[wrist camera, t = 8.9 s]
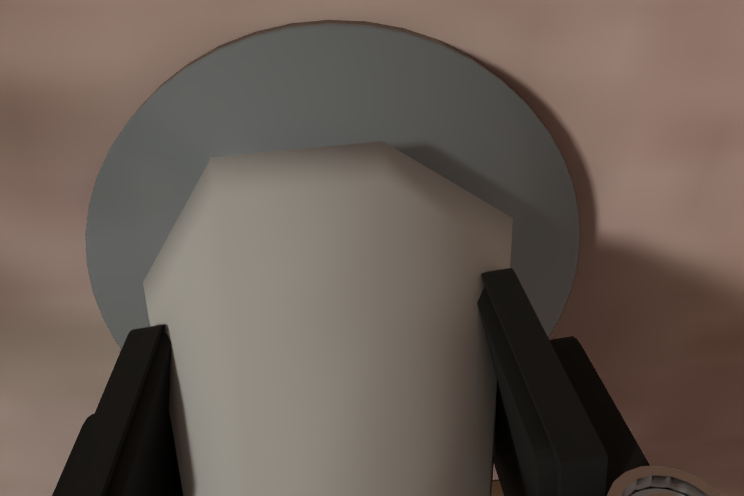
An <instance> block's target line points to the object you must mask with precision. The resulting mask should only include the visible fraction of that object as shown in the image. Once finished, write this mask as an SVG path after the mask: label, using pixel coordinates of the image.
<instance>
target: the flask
mask: <svg viewBox="0 0 744 496" xmlns="http://www.w3.org/2000/svg"><path fill="white" fill-rule="evenodd" d="M512 225H513V218H512V217H510V216H509V215H507V214H505V213H504V212H502V211H500V210H499V209H497V208H495V207H493V206H492V205H490V204H488V203H487V202H485V201H483V200H482V199H480V198H478V197H476V196H475V195H473V194H471V193H470V192H468V191H466V190H465V189H463V188H461V187H460V186H458V185H456V184H454V183H453V182H451V181H449V180H448V179H446V178H444V177H443V176H441V175H439V174H437V173H436V172H434V171H432V170H431V169H429V168H427V167H426V166H424V165H422V164H421V163H419V162H417V161H415V160H414V159H412V158H410V157H409V156H407V155H405V154H404V153H402V152H400V151H398V150H397V149H395V148H393V147H392V146H390V145H388V144H387V143H385V142H383V141H377V142H367V143H356V144H346V145H336V146H325V147H315V148H304V149H294V150H283V151H273V152H262V153H252V154H242V155H231V156H221V157H211V158H210V160H209V162H208V164H207V166H206V168H205V169H204V171H203V173H202V175H201V177H200V179H199V180H198V182H197V184H196V186H195V188H194V190H193V191H192V193H191V195H190V197H189V199H188V201H187V202H186V204H185V206H184V208H183V210H182V212H181V213H180V215H179V217H178V219H177V221H176V223H175V224H174V226H173V228H172V230H171V232H170V234H169V235H168V237H167V239H166V241H165V243H164V245H163V246H162V248H161V250H160V252H159V254H158V256H157V257H156V259H155V261H154V263H153V265H152V267H151V268H150V270H149V272H148V274H147V276H146V278H145V279H144V281H143V286H144V292H145V298H146V304H147V310H148V316H149V321H150V326H157V325H163V324H165V331H163V333H166V334H167V335H168V336H169V339H170V341H171V367H170V393H169V414H170V419H171V424H172V430H173V436H174V442H175V449H176V455H177V461H178V467H179V473H180V479H181V485H182V491H183V496H491V493H492V478H493V464H494V454H495V429H496V393H497V376H496V373H495V369H494V365H493V361H492V358H491V354H490V350H489V346H488V342H487V338H486V335H485V331H484V327H483V323H482V319H481V315H480V311H479V308H478V304H477V302H478V300H479V298H480V295H481V293H482V291H483V288H484V286H485V285H484V283H483V279H482V275H481V273H484V272H488V271H494V270H500V269H507V268H510V264H511V244H512Z"/></svg>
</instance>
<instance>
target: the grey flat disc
mask: <svg viewBox="0 0 744 496" xmlns="http://www.w3.org/2000/svg"><path fill="white" fill-rule="evenodd" d="M377 141H383V142H385V143H387V144H388V145H390V146H392V147H393V148H395V149H397V150H398V151H400V152H402V153H404V154H405V155H407V156H409V157H410V158H412V159H414V160H415V161H417V162H419V163H421V164H422V165H424V166H426V167H427V168H429V169H431V170H432V171H434V172H436V173H437V174H439V175H441V176H443V177H444V178H446V179H448V180H449V181H451V182H453V183H454V184H456V185H458V186H460V187H461V188H463V189H465V190H466V191H468V192H470V193H471V194H473V195H475V196H476V197H478V198H480V199H482V200H483V201H485V202H487V203H488V204H490V205H492V206H493V207H495V208H497V209H499V210H500V211H502V212H504V213H505V214H507V215H509V216H510V217H512V218H513V225H512V244H511V264H510V268H512V269H513V270H514V271H515V273H516V275H517V277H518V279H519V281H520V283H521V285H522V287H523V289H524V291H525V293H526V295H527V297H528V299H529V301H530V303H531V305H532V307H533V309H534V311H535V313H536V315H537V317H538V319H539V321H540V323H541V325H542V327H543V329H544V330H545V332H546V334H547V336H548V337H549V336H550V334H551V332H552V330H553V329H554V327H555V325H556V323H557V322H558V320H559V318H560V317H561V314H562V312H563V309H564V307H565V305H566V302H567V300H568V297H569V295H570V292H571V289H572V285H573V281H574V277H575V273H576V270H577V264H578V255H579V246H580V226H579V211H578V206H577V201H576V195H575V190H574V185H573V183H572V180H571V177H570V175H569V172H568V169H567V166H566V164H565V161H564V158H563V156H562V155H561V153H560V151H559V149H558V147H557V146H556V144H555V142H554V140H553V138H552V137H551V135H550V133H549V131H548V130H547V129H546V128H545V126H544V125H543V124H542V122H541V121H540V120H539V119H538V117H537V116H536V115H535V114H534V112H533V111H532V110H531V108H530V107H529V106H528V105H527V104H526V103H525V102H524V101H523V99H522V98H521V97H520V96H519V95H518V94H517V93H516V92H514V91H513V90H512V89H511V88H510V87H509V86H508V85H507V84H506V83H505V82H504V81H503V80H502V79H501V78H499V77H498V76H497V75H496V74H495V73H494V72H492V71H491V70H489V69H488V68H486V67H485V66H483V65H482V64H480V63H479V62H478V61H476V60H475V59H473V58H472V57H470V56H469V55H467V54H465V53H463V52H461V51H459V50H457V49H455V48H453V47H451V46H449V45H447V44H445V43H443V42H441V41H439V40H437V39H434V38H431V37H428V36H425V35H422V34H419V33H416V32H413V31H410V30H407V29H403V28H399V27H393V26H388V25H382V24H377V23H371V22H365V21H341V20H323V21H312V22H302V23H291V24H287V25H283V26H278V27H274V28H270V29H266V30H261V31H257V32H254V33H251V34H248V35H246V36H243V37H241V38H238V39H236V40H233V41H231V42H228V43H225V44H223V45H220V46H218V47H217V48H215V49H213V50H211V51H210V52H208V53H206V54H204V55H203V56H201V57H199V58H197V59H196V60H194V61H192V62H190V63H189V64H187V65H186V66H185V67H183V68H182V69H181V70H180V71H178V72H177V73H176V74H174V75H173V76H172V77H171V78H169V79H168V80H167V81H165V82H164V83H163V84H162V85H161V86H160V87H159V88H158V89H157V90H156V91H155V92H154V93H153V94H152V95H151V96H150V97H149V98H148V99H147V100H146V101H145V103H144V104H143V105H142V106H141V107H140V108H139V109H138V110H137V111H136V113H135V114H134V115H133V116H132V118H131V119H130V120H129V122H128V123H127V125H126V126H125V127H124V129H123V130H122V132H121V133H120V135H119V136H118V138H117V139H116V141H115V142H114V144H113V145H112V146H111V148H110V150H109V152H108V154H107V157H106V159H105V161H104V163H103V165H102V167H101V169H100V171H99V174H98V176H97V179H96V182H95V186H94V189H93V193H92V196H91V200H90V204H89V208H88V217H87V226H86V235H85V236H86V255H87V267H88V271H89V276H90V281H91V285H92V290H93V293H94V296H95V299H96V301H97V304H98V307H99V309H100V312H101V315H102V317H103V319H104V321H105V323H106V324H107V326H108V328H109V330H110V332H111V334H112V335H113V337H114V339H115V341H116V342H117V344H118V345H119V346H120V348H121V349H122V347H123V345H124V343H125V340H126V338H127V335H128V334H129V332H130V331H131V330H133V329H138V328H144V327H150V321H149V316H148V310H147V304H146V298H145V292H144V286H143V281H144V279H145V278H146V276H147V274H148V272H149V270H150V268H151V267H152V265H153V263H154V261H155V259H156V257H157V256H158V254H159V252H160V250H161V248H162V246H163V245H164V243H165V241H166V239H167V237H168V235H169V234H170V232H171V230H172V228H173V226H174V224H175V223H176V221H177V219H178V217H179V215H180V213H181V212H182V210H183V208H184V206H185V204H186V202H187V201H188V199H189V197H190V195H191V193H192V191H193V190H194V188H195V186H196V184H197V182H198V180H199V179H200V177H201V175H202V173H203V171H204V169H205V168H206V166H207V164H208V162H209V160H210V158H211V157H221V156H231V155H242V154H252V153H262V152H273V151H283V150H294V149H304V148H315V147H325V146H336V145H346V144H356V143H367V142H377Z"/></svg>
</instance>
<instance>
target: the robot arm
mask: <svg viewBox="0 0 744 496" xmlns="http://www.w3.org/2000/svg"><path fill="white" fill-rule="evenodd" d="M481 275H482V279H483V283H484V285H485V286H484V288H483V291H482V293H481V295H480V298H479V300H478V302H477V304H478V308H479V311H480V315H481V319H482V323H483V327H484V331H485V335H486V338H487V342H488V346H489V350H490V354H491V358H492V361H493V365H494V369H495V373H496V376H497V393H496V429H495V454H494V465H495V468H496V471H497V474H498V478H499V481H500V484H501V488H502V491H503V494H504V496H722V495H721V494H720V493H719V492H718V491H717V490H716V489H715V488H714V487H713V486H711V485H710V484H708V483H707V482H705V481H704V480H702V479H701V478H699V477H698V476H695V475H693V474H690V473H688V472H685V471H683V470H680V469H678V468H672V467H666V466H660V465H655V466H650V465H649V463H648V461H647V460H646V458H645V456H644V454H643V453H642V451H641V449H640V447H639V446H638V444H637V442H636V440H635V439H634V437H633V435H632V433H631V432H630V430H629V428H628V426H627V425H626V423H625V421H624V419H623V418H622V416H621V414H620V412H619V411H618V409H617V407H616V405H615V404H614V402H613V400H612V398H611V397H610V395H609V393H608V391H607V390H606V388H605V386H604V384H603V383H602V381H601V379H600V377H599V376H598V374H597V372H596V370H595V369H594V367H593V365H592V363H591V362H590V360H589V358H588V356H587V355H586V353H585V351H584V349H583V348H582V346H581V344H580V343H579V342H578V340H577V339H576V338H574V337H573V336H572V337H566V338H559V339H553V340H549V338H548V336H547V334H546V332H545V330H544V329H543V327H542V325H541V323H540V321H539V319H538V317H537V315H536V313H535V311H534V309H533V307H532V305H531V303H530V301H529V299H528V297H527V295H526V293H525V291H524V289H523V287H522V285H521V283H520V281H519V279H518V277H517V275H516V273H515V271H514V270H513V269H512V268H507V269H500V270H494V271H488V272H484V273H481ZM163 331H165V324H163V325H157V326H150V327H144V328H138V329H133V330H131V331H130V332H129V334H128V335H127V338H126V340H125V343H124V345H123V347H122V350H121V352H120V354H119V357H118V359H117V362H116V364H115V366H114V369H113V371H112V374H111V376H110V378H109V381H108V383H107V385H106V388H105V390H104V393H103V395H102V397H101V400H100V402H99V405H98V407H97V409H96V412H95V414H92V415H91V416H89V417H88V418H87V419H86V421H85V422H84V424H83V426H82V428H81V430H80V433H79V435H78V437H77V440H76V442H75V444H74V446H73V449H72V451H71V453H70V456H69V458H68V460H67V463H66V465H65V467H64V470H63V472H62V474H61V477H60V479H59V481H58V483H57V486H56V488H55V490H54V493H53V495H52V496H183V491H182V485H181V479H180V473H179V467H178V461H177V455H176V449H175V442H174V436H173V430H172V424H171V419H170V414H169V393H170V367H171V341H170V339H169V336H168V335H167V334H166V333H163Z"/></svg>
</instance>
